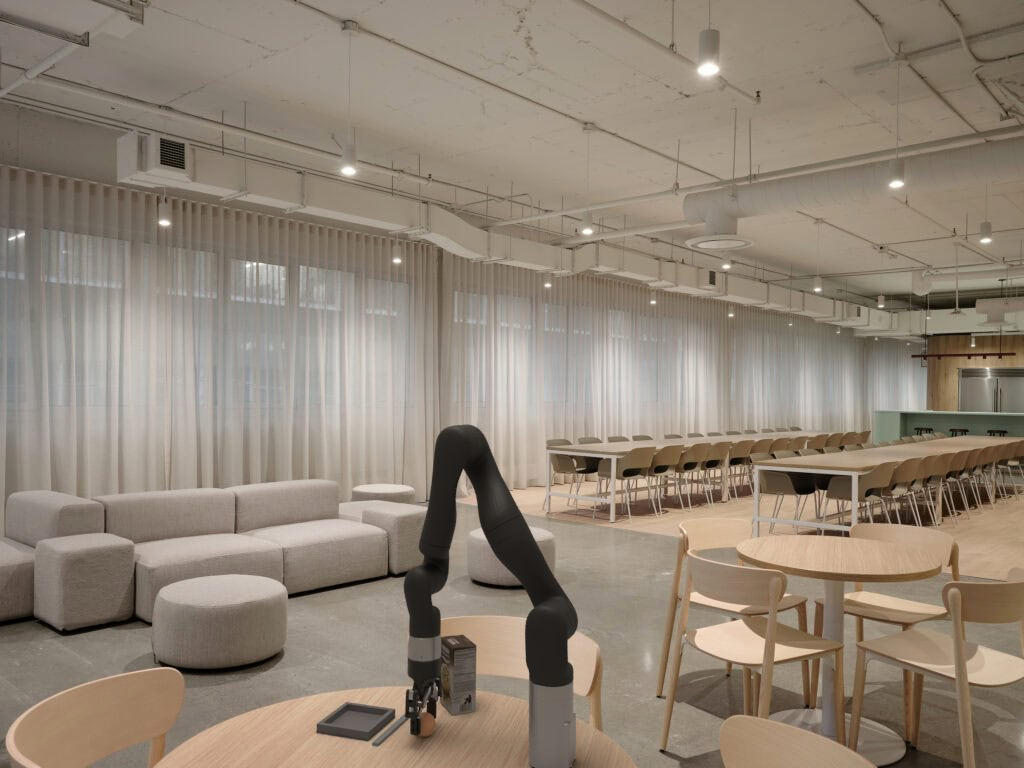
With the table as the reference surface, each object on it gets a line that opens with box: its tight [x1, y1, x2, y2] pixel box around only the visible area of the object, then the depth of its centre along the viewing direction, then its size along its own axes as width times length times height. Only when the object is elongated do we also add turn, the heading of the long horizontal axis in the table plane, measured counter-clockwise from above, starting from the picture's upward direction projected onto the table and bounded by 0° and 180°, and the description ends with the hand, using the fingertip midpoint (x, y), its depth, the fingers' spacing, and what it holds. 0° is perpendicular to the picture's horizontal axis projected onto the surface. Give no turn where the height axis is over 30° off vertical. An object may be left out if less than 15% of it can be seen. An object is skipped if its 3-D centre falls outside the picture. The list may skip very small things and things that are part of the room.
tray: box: [316, 701, 396, 742], centre depth 177 cm, size 13×13×2 cm
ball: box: [418, 711, 437, 738], centre depth 172 cm, size 5×5×5 cm
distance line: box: [371, 713, 410, 747], centre depth 174 cm, size 2×16×1 cm, turn 162°
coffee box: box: [439, 634, 477, 716], centre depth 188 cm, size 9×6×16 cm
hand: (423, 726), depth 172 cm, fingers open, 8 cm apart
